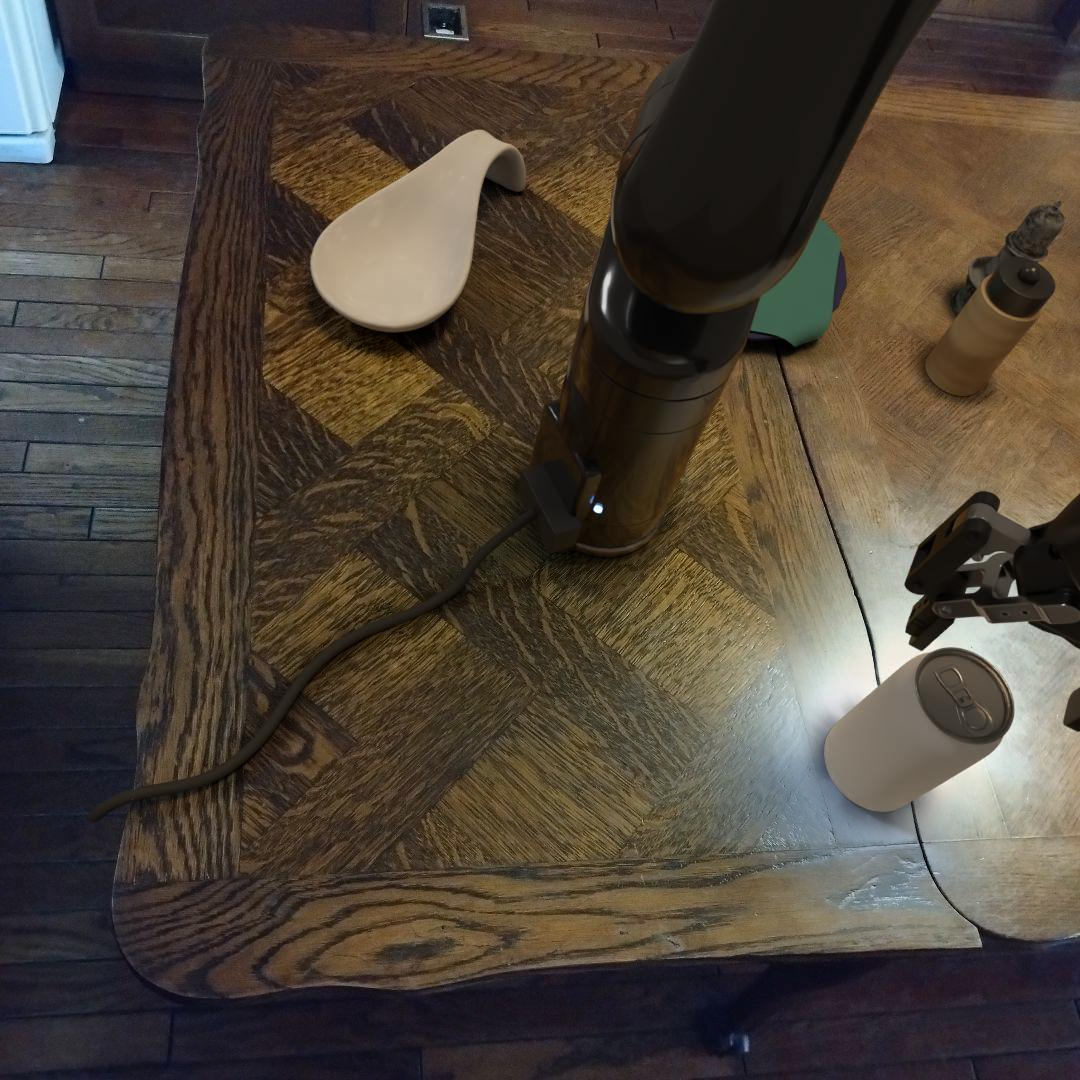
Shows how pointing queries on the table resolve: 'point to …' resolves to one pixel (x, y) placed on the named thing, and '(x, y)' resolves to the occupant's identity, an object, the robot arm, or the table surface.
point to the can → (919, 729)
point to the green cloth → (804, 293)
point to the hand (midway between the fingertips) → (994, 674)
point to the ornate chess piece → (1015, 248)
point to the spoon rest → (412, 238)
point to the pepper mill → (990, 326)
